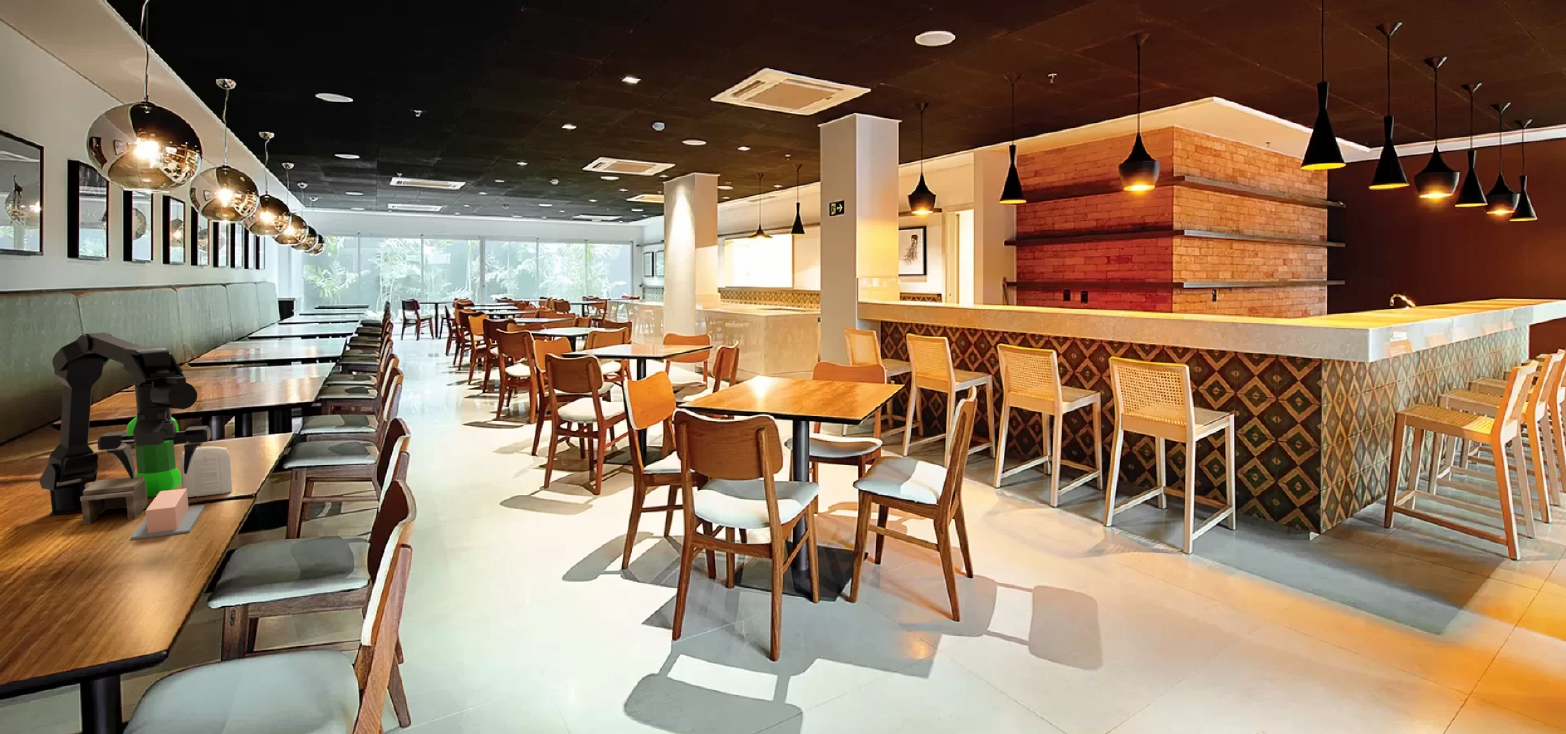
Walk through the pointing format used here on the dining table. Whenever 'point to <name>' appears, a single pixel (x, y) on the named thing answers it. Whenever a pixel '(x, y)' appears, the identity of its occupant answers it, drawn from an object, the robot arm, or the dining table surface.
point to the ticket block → (167, 510)
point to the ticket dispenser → (114, 497)
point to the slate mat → (184, 527)
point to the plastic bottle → (156, 464)
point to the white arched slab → (207, 472)
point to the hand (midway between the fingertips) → (159, 476)
